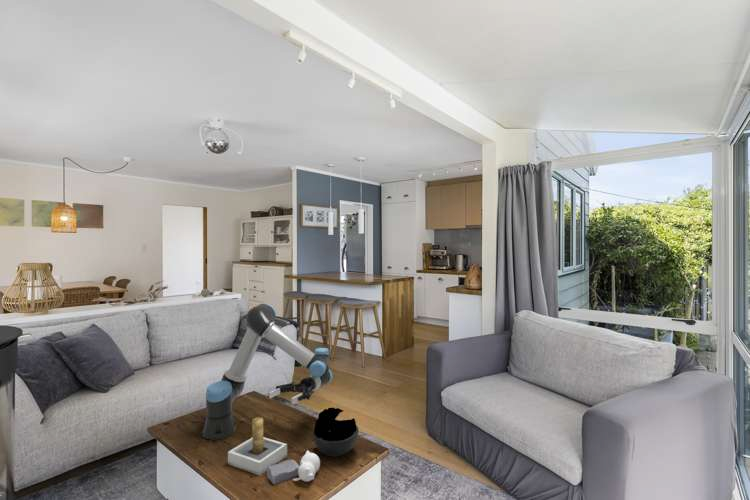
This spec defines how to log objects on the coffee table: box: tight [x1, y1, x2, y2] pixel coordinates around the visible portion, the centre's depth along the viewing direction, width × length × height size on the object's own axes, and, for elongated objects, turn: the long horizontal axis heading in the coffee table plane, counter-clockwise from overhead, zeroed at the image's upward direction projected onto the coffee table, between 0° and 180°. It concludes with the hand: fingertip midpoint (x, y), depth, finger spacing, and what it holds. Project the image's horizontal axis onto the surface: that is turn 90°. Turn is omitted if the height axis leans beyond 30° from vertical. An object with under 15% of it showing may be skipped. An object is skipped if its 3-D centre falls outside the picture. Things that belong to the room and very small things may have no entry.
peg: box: [251, 416, 264, 456], centre depth 157 cm, size 4×4×16 cm
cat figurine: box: [292, 449, 321, 483], centre depth 145 cm, size 9×11×12 cm
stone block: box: [266, 459, 300, 485], centre depth 147 cm, size 12×5×10 cm
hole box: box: [227, 436, 288, 476], centre depth 157 cm, size 18×16×5 cm
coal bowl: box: [312, 407, 360, 458], centre depth 161 cm, size 20×20×19 cm
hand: (280, 398), depth 168 cm, fingers open, 13 cm apart
